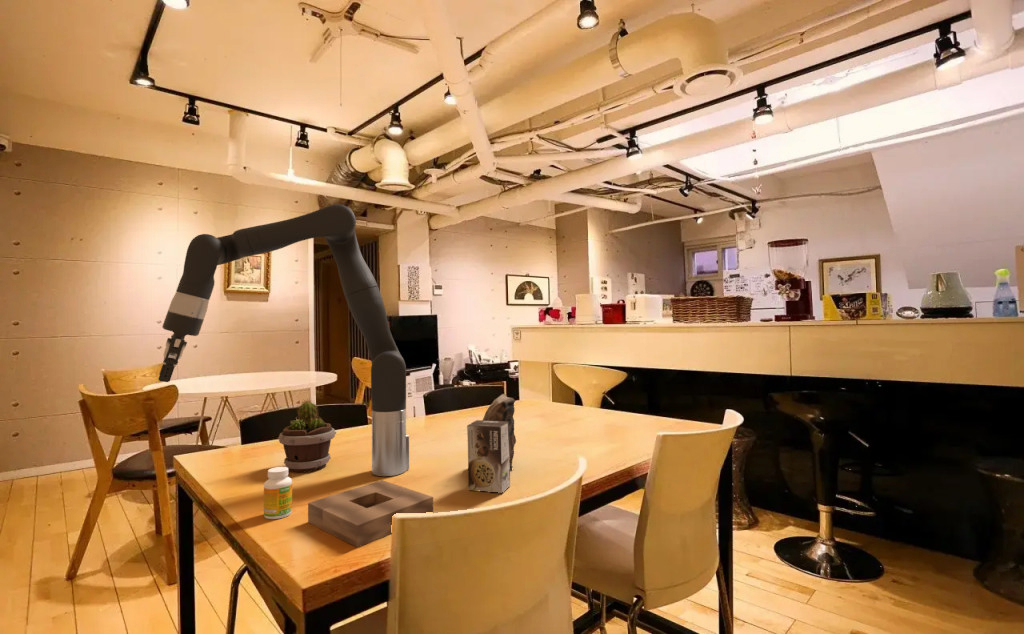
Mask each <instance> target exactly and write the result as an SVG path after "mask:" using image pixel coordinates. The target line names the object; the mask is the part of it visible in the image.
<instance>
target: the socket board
mask: <svg viewBox="0 0 1024 634" xmlns="http://www.w3.org/2000/svg"><path fill="white" fill-rule="evenodd" d="M426 512H433V513H434V497H433V496H432V495H428V494H425V493H422V492H420V491H416V490H413V489H410V488H408V487H404V486H401V485H398V484H395V483H392V482H389V481H386V480H384V479H381V480H378V481H374V482H371V483H368V484H365V485H361V486H359V487H355V488H352V489H348V490H344V491H341V492H339V493H336V494H335V493H334V494H332V495H329V496H326V497H322V498H319V499H316V500H313V501H309V502H308V503H307V522H308V523H309V524H310V525H313V526H315V527H317V528H318V529H321V530H323V531H324V532H326V533H328V534H330V535H333V537H336V538H338V539H340V540H342V541H344V542H346V543H347V544H349V545H352V546H354V547H355V548H361V547H363V546H365V545H367V544H369V543H372V542H375V541H377V540H379V539H381V538H384V537H388V536H389V535H392V533H391V525H392V516H393V515H394V514H396V513H426Z"/></svg>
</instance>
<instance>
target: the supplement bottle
mask: <svg viewBox="0 0 1024 634" xmlns="http://www.w3.org/2000/svg"><path fill="white" fill-rule="evenodd" d="M267 478H268V479H267V480H266V481H264V483H263V516H264V517H263V518H265V519H267V520H278V519H284V518H286V517H288V516H290V515H291V514H292V511H293V480H292V478H291V477H290V476H289V469H288V468H287V467H286V466H276V467H272V468H269V469H268V470H267Z"/></svg>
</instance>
